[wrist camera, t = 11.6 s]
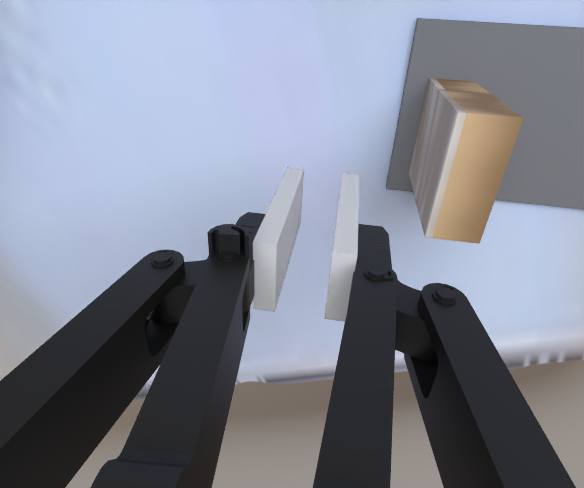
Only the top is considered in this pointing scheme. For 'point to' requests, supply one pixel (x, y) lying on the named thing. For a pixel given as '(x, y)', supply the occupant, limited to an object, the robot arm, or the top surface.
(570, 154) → the mat
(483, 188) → the wooden block
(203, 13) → the top surface
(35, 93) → the top surface
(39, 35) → the top surface
